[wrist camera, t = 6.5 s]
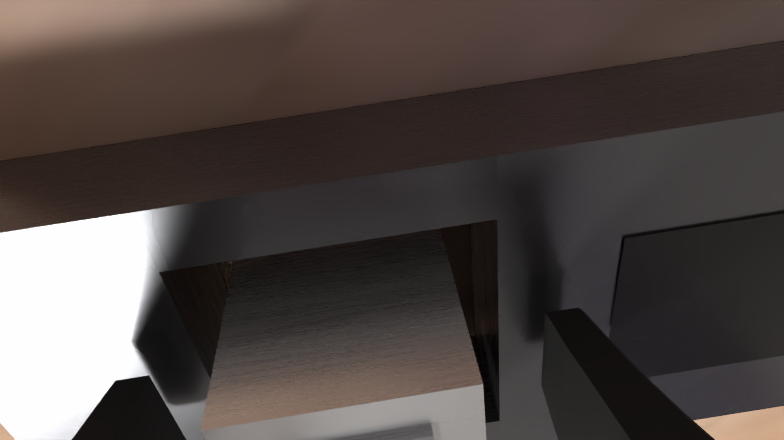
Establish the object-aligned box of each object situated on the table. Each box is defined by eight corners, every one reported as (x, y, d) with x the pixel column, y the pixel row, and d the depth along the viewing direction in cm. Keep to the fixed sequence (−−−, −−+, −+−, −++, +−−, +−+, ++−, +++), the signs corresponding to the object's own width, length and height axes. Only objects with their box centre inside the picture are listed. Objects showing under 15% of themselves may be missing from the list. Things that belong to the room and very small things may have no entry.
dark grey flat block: (892, 24, 11) (1029, 75, 9) (774, 319, 15) (844, 398, 13) (-59, 170, 11) (-151, 257, 8) (116, 423, 15) (84, 519, 13)
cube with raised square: (429, 191, 12) (485, 392, 8) (443, 322, 14) (493, 531, 10) (241, 221, 12) (198, 441, 8) (287, 348, 14) (272, 567, 10)
